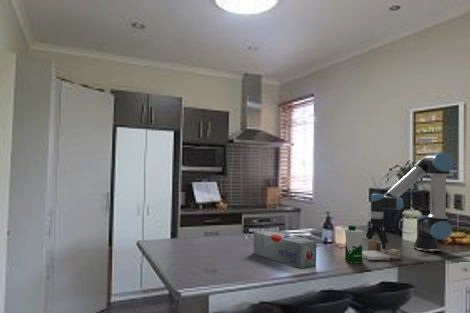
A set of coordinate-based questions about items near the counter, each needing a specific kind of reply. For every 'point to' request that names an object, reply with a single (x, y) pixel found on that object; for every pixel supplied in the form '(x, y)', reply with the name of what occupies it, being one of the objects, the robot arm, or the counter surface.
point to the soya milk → (353, 244)
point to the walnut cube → (374, 246)
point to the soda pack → (285, 248)
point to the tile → (374, 255)
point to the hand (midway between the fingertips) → (376, 251)
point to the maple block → (393, 253)
